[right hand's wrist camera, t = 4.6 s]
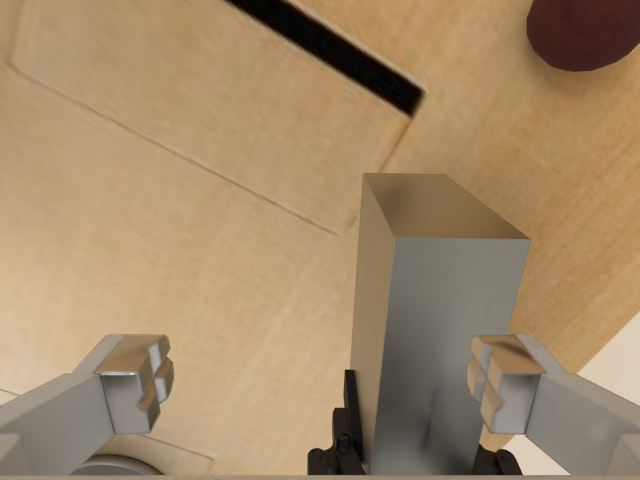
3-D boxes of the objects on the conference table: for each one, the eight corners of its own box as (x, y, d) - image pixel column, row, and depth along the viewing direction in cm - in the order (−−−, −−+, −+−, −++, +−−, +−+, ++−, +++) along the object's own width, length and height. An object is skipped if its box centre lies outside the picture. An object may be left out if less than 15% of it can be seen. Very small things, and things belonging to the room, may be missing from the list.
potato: (594, 72, 32) (663, 71, 26) (502, 72, 32) (548, 71, 26) (621, -33, 30) (706, -64, 23) (520, -33, 29) (577, -64, 23)
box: (363, 172, 28) (394, 237, 17) (445, 174, 28) (531, 239, 17) (348, 393, 37) (362, 535, 25) (412, 394, 37) (455, 536, 25)
